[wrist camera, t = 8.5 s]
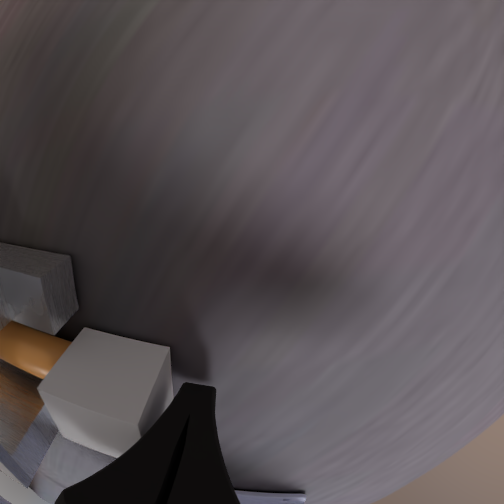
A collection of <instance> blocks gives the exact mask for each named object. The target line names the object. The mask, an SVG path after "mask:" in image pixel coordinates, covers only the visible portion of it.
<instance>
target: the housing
mask: <svg viewBox="0 0 504 504" xmlns="http://www.w3.org/2000/svg"><path fill="white" fill-rule="evenodd" d="M78 309H79V306H78V301H77V295H76V290H75V283H74V277H73V270H72V262H71V256H70V255H64V254H59V253H53V252H48V251H43V250H37V249H32V248H27V247H22V246H17V245H12V244H7V243H2V242H0V331H1V330H2V329H3V328H4V327H5V326H6V325H7V324H8V323H9V322H10V321H11V320H14V321H16V322H19V323H21V324H24V325H26V326H29V327H32V328H34V329H37V330H40V331H43V332H46V333H48V334H51V335H55V334H56V333H57V332H58V331H59V330H60V329H61V328H62V326H63V325H64V324H65V323H66V322H67V321H68V320H69V319H70V318H71V317H72V316H73V314H74V313H75V312H76V311H77V310H78ZM42 380H43V379H41V378H39V377H37V376H35V375H33V374H30V373H28V372H26V371H24V370H22V369H20V368H18V367H16V366H14V365H12V364H10V363H8V362H6V361H4V360H2V359H0V471H1V472H3V473H4V474H6V475H8V476H9V477H10V478H12V479H13V480H15V481H17V482H18V483H20V484H21V485H23V486H24V487H26V488H28V487H29V485H30V483H31V481H32V479H33V477H34V475H35V473H36V471H37V469H38V467H39V465H40V463H41V462H42V460H43V458H44V456H45V454H46V452H47V450H48V449H49V447H50V445H51V443H52V441H53V440H54V438H55V436H56V434H57V433H58V431H59V429H58V427H57V426H56V424H55V422H54V420H53V419H52V417H51V415H50V413H49V411H48V409H47V407H46V405H45V404H44V402H43V400H42V398H41V396H40V394H39V391H38V389H37V387H38V386H39V384H40V383H41V382H42Z"/></svg>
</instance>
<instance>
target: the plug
mask: <svg viewBox="0 0 504 504" xmlns="http://www.w3.org/2000/svg"><path fill="white" fill-rule="evenodd" d="M0 359H2V360H4V361H6V362H8V363H10V364H12V365H14V366H16V367H18V368H20V369H22V370H24V371H26V372H28V373H30V374H33V375H35V376H37V377H39V378H41V379H43V380H42V382H41V383H40V384H39V386H38V387H37V389H38V391H39V394H40V396H41V398H42V400H43V402H44V404H45V405H46V407H47V409H48V411H49V413H50V415H51V417H52V419H53V420H54V422H55V424H56V426H57V427H58V429H59V431H60V432H61V434H62V436H63V437H64V438H66V439H69V440H71V441H73V442H76V443H78V444H81V445H83V446H86V447H88V448H91V449H93V450H96V451H99V452H101V453H104V454H107V455H110V456H113V457H116V458H118V457H120V456H121V455H122V454H124V453H125V452H126V451H127V450H128V449H129V448H131V447H132V446H133V445H134V444H135V443H136V442H137V441H138V440H139V439H140V438H141V437H142V436H143V435H144V434H145V433H146V432H147V431H148V430H149V429H150V428H151V427H152V426H153V425H154V423H155V422H156V421H157V420H158V419H159V417H160V416H161V415H162V414H163V412H164V411H165V410H166V409H167V407H168V406H169V405H170V403H171V402H172V401H173V386H172V373H171V358H170V347H167V346H162V345H157V344H152V343H147V342H143V341H138V340H134V339H129V338H125V337H121V336H117V335H113V334H109V333H105V332H101V331H97V330H93V329H90V328H86V327H84V328H83V330H82V331H81V332H80V333H79V334H78V336H77V337H76V338H75V339H74V341H73V342H70V341H67V340H64V339H61V338H58V337H55V336H52V335H50V334H47V333H44V332H41V331H38V330H36V329H33V328H30V327H28V326H25V325H23V324H20V323H17V322H15V321H13V320H11V321H10V322H9V323H8V324H7V325H6V326H5V327H4V328H3V329H2V330H1V331H0Z"/></svg>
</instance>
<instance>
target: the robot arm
mask: <svg viewBox="0 0 504 504" xmlns="http://www.w3.org/2000/svg"><path fill="white" fill-rule="evenodd" d="M215 401H216V389H215V388H214V387H211V386H205V385H199V384H193V383H188V382H185V383H183V385H182V387H181V388H180V390H179V392H178V393H177V395H176V396H175V398H174V399H173V401H172V402H171V403H170V405H169V406H168V407H167V409H166V410H165V411H164V412H163V414H162V415H161V416H160V417H159V419H158V420H157V421H156V422H155V423H154V425H153V426H152V427H151V428H150V429H149V430H148V431H147V432H146V433H145V434H144V435H143V436H142V437H141V438H140V439H139V440H138V441H137V442H136V443H135V444H134V445H133V446H132V447H131V448H129V449H128V450H127V451H126V452H125V453H124V454H122V455H121V456H120V457H118V458H117V459H116V460H115V461H113V462H112V463H110V464H109V465H108V466H106V467H105V468H103V469H101V470H100V471H98V472H97V473H95V474H93V475H92V476H90V477H88V478H86V479H85V480H83V481H81V482H79V483H77V484H74V485H72V486H70V487H68V488H66V489H64V490H63V491H62V492H61V494H60V495H59V497H58V498H57V500H56V502H55V504H304V501H305V500H306V495H305V494H287V493H262V492H248V491H238V490H234V488H233V486H232V483H231V481H230V478H229V475H228V472H227V469H226V466H225V463H224V460H223V456H222V452H221V448H220V444H219V439H218V434H217V427H216V420H215ZM0 504H11V503H10V502H8V501H7V500H5V499H4V498H3V497H1V496H0Z"/></svg>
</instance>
